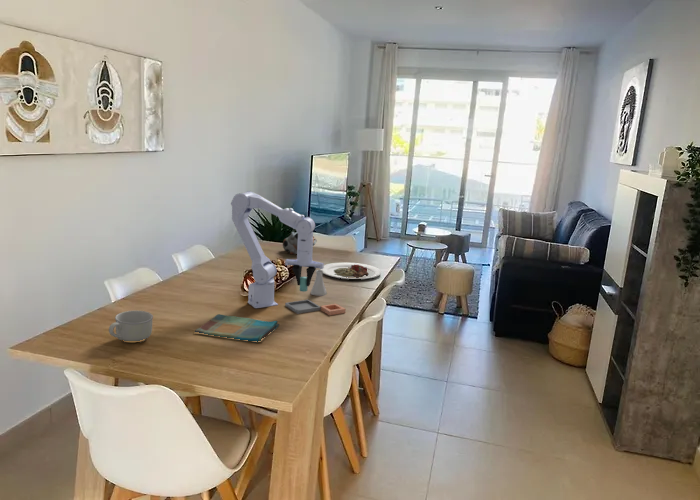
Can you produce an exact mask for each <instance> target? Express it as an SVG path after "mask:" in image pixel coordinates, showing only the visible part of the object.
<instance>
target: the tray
mask: <svg viewBox="0 0 700 500" xmlns="http://www.w3.org/2000/svg"><path fill="white" fill-rule="evenodd" d="M284 306H285V307H286V308H288V309H289V310H291V311H293V312H294V313H295V314H297V315H298V314H299V315H300V314H305V313H310V312H317V311H321V307H320V306H321V305H318V304H316V303H315V302H313V301H311V300H310V299H303V300H302V299H301V300H295V301H289V302H288V301H287V302H285V305H284Z"/></svg>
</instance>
